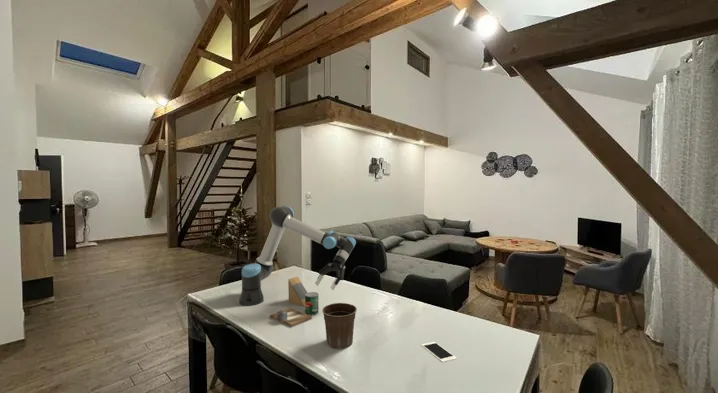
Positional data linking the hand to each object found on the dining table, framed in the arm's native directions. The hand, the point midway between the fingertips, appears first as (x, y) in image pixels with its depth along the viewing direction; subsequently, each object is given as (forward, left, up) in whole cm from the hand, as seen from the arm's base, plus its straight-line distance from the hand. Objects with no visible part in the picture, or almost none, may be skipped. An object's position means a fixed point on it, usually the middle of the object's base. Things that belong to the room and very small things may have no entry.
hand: (323, 286), depth 190 cm
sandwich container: (-19, -2, -14) cm, 23 cm away
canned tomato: (0, -9, -14) cm, 16 cm away
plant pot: (+38, -25, -14) cm, 47 cm away
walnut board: (-3, -22, -13) cm, 26 cm away
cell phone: (+77, -2, -14) cm, 78 cm away
